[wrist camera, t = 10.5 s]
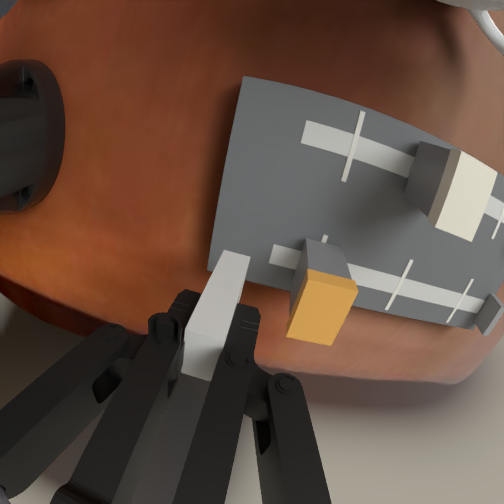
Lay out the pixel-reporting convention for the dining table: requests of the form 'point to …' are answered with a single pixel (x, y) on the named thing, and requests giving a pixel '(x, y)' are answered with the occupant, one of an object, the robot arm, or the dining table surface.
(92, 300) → the dining table surface
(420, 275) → the console
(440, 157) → the fader cream
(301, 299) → the fader orange
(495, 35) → the mug
